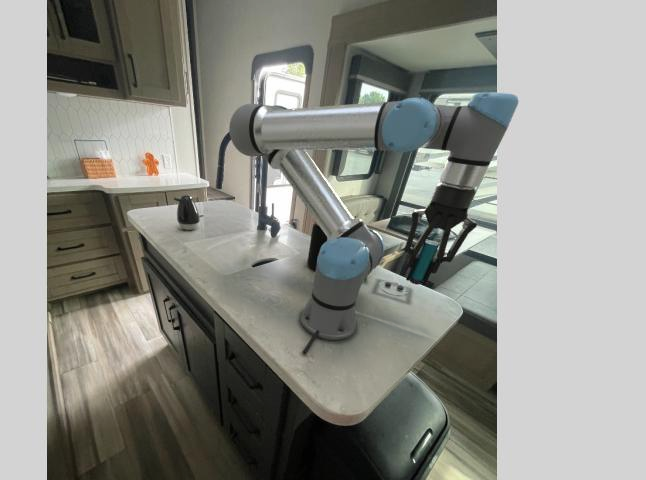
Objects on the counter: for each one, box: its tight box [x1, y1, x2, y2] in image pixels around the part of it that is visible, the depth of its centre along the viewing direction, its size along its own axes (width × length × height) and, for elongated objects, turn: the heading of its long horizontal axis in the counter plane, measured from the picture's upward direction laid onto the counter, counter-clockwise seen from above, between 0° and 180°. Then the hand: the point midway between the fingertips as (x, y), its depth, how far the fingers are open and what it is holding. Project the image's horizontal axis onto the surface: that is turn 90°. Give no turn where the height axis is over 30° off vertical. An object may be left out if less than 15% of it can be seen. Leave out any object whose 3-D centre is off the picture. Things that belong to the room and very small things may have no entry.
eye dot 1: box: [384, 282, 392, 288], centre depth 92 cm, size 2×2×1 cm
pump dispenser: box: [173, 194, 201, 231], centre depth 124 cm, size 10×10×15 cm
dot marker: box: [409, 239, 440, 286], centre depth 67 cm, size 3×3×11 cm
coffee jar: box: [307, 218, 327, 271], centre depth 99 cm, size 11×11×18 cm
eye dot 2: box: [396, 285, 405, 291], centre depth 91 cm, size 2×2×1 cm
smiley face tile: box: [378, 280, 409, 297], centre depth 92 cm, size 10×11×1 cm
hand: (415, 280), depth 70 cm, fingers closed on dot marker, 3 cm apart
